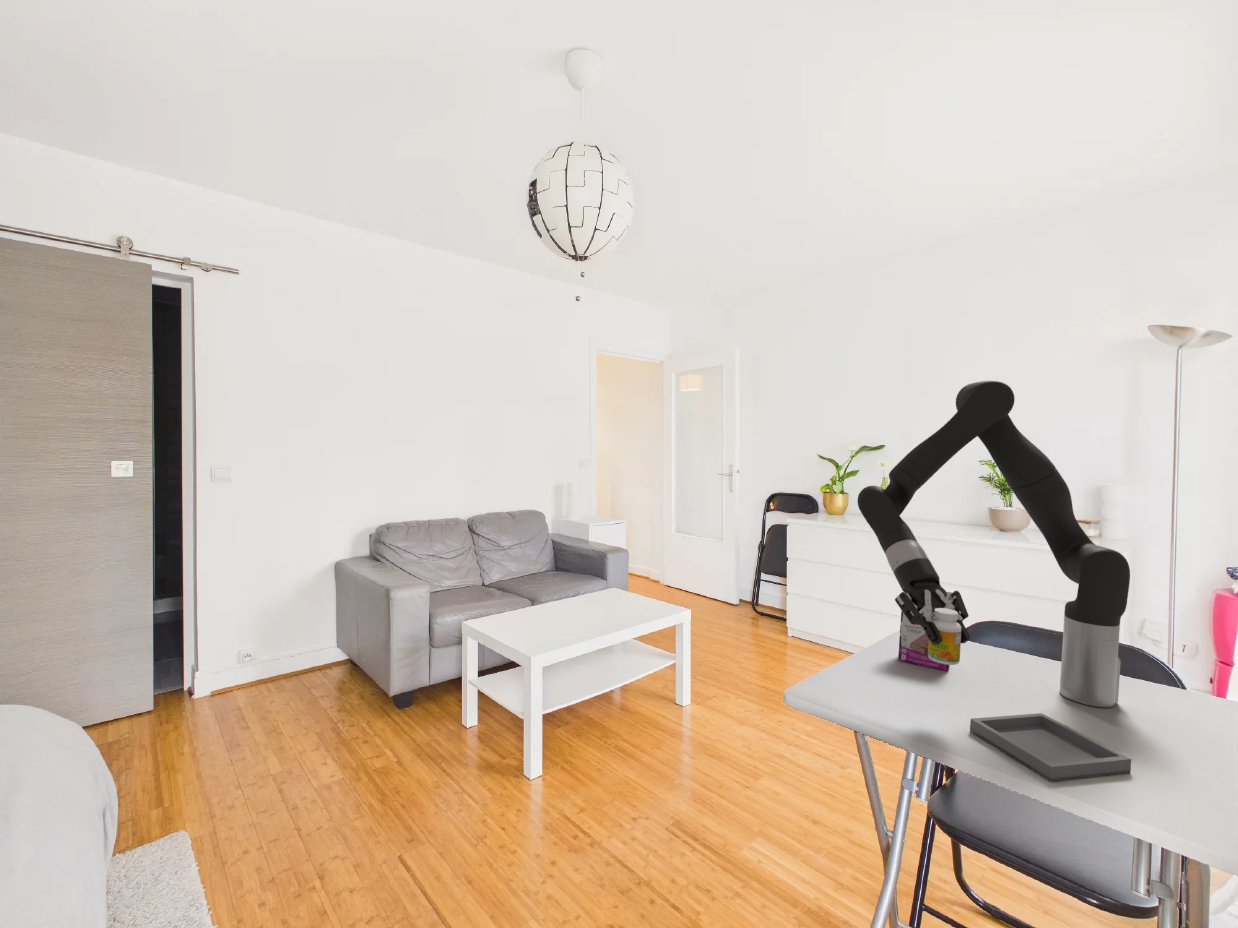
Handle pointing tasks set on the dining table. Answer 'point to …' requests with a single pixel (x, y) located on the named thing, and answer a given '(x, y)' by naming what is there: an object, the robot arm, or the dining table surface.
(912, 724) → the dining table surface
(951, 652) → the supplement bottle
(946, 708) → the dining table surface
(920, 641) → the candy bar box
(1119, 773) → the tray
